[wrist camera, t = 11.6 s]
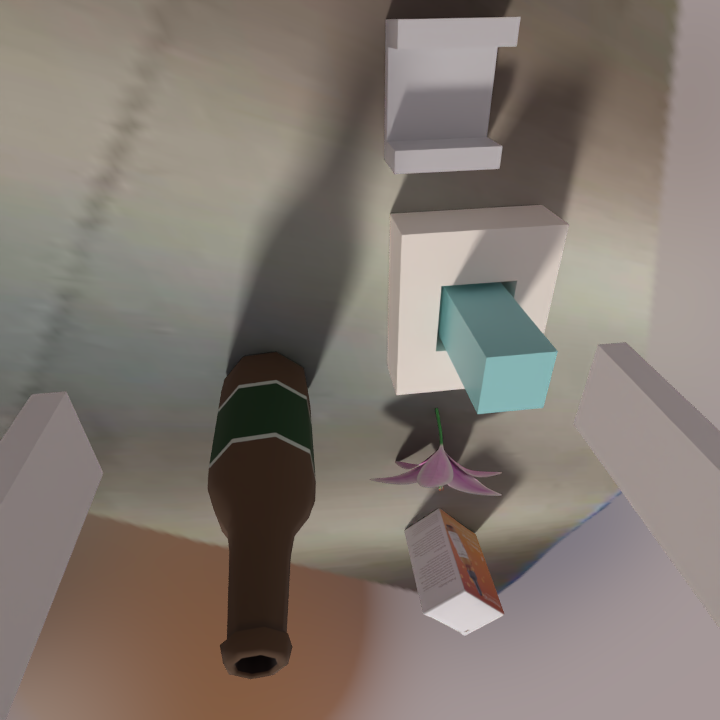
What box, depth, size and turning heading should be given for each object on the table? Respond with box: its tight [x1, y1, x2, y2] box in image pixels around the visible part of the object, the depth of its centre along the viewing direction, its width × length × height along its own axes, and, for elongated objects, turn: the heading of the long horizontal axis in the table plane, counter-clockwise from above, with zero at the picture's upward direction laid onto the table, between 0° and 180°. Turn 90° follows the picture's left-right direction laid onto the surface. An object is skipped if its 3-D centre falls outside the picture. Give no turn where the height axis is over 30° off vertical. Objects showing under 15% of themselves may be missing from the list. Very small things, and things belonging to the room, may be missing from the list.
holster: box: [384, 17, 521, 174], centre depth 31 cm, size 8×7×4 cm
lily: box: [370, 408, 502, 496], centre depth 48 cm, size 12×12×10 cm
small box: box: [405, 508, 504, 635], centre depth 57 cm, size 8×6×10 cm
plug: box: [437, 282, 558, 414], centre depth 36 cm, size 4×4×12 cm
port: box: [387, 205, 569, 395], centre depth 40 cm, size 14×12×5 cm
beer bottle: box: [208, 352, 316, 679], centre depth 35 cm, size 8×8×24 cm
